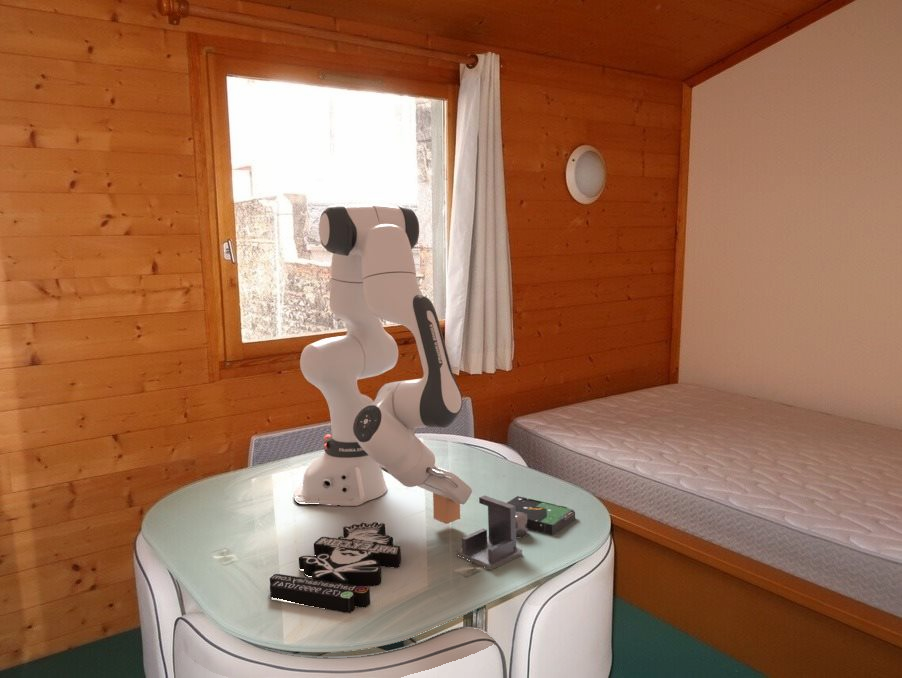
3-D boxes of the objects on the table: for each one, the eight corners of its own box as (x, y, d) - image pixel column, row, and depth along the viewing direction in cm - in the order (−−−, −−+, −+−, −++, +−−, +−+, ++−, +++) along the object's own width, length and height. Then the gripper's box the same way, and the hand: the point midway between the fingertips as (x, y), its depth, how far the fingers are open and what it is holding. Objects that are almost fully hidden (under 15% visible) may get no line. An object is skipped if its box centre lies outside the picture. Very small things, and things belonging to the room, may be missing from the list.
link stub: (509, 538, 145) (509, 520, 145) (507, 530, 149) (506, 512, 149) (529, 537, 146) (528, 518, 145) (525, 529, 150) (525, 511, 149)
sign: (260, 585, 124) (341, 518, 152) (262, 601, 124) (342, 531, 152) (359, 600, 118) (424, 527, 146) (360, 617, 118) (425, 541, 146)
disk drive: (493, 522, 155) (554, 537, 146) (492, 510, 154) (553, 524, 146) (517, 507, 163) (576, 519, 155) (516, 495, 163) (575, 507, 154)
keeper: (490, 570, 132) (489, 522, 130) (453, 554, 139) (452, 508, 138) (522, 554, 138) (521, 508, 137) (485, 539, 145) (484, 495, 144)
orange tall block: (446, 524, 148) (445, 483, 146) (433, 518, 151) (432, 478, 149) (460, 518, 151) (460, 478, 149) (447, 512, 154) (446, 473, 152)
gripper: (456, 462, 136) (491, 496, 144) (389, 439, 150) (425, 471, 159) (439, 491, 133) (476, 524, 142) (373, 464, 148) (410, 495, 156)
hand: (448, 496), depth 150 cm, fingers closed on orange tall block, 4 cm apart
